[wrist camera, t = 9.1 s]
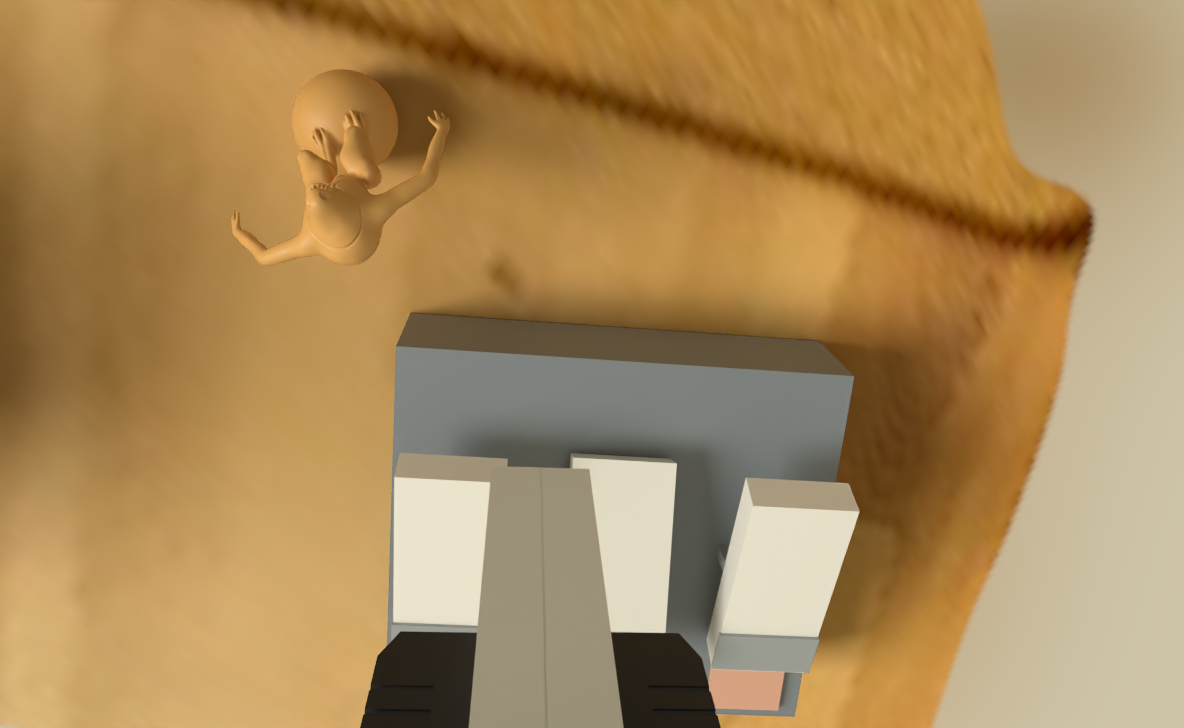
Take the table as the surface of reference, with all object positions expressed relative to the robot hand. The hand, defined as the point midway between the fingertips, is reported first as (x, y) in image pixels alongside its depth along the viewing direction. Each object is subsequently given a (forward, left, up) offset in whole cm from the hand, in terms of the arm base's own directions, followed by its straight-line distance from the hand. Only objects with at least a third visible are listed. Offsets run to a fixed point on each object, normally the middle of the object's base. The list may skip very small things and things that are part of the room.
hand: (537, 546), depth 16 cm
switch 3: (+12, +11, -21) cm, 26 cm away
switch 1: (+12, -2, -21) cm, 24 cm away
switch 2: (+12, +4, -21) cm, 24 cm away
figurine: (-3, -7, -28) cm, 29 cm away
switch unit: (+12, +4, -28) cm, 30 cm away
